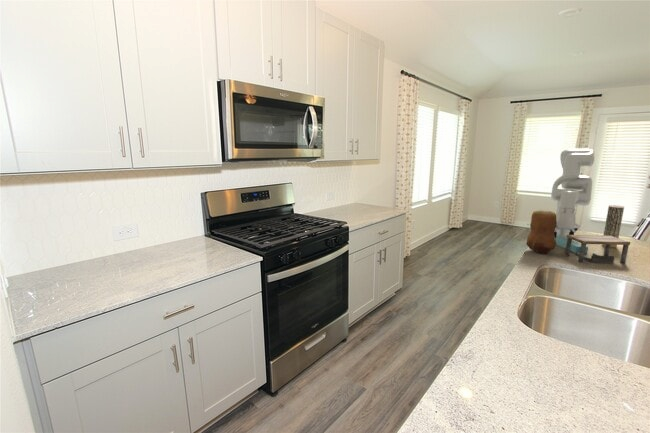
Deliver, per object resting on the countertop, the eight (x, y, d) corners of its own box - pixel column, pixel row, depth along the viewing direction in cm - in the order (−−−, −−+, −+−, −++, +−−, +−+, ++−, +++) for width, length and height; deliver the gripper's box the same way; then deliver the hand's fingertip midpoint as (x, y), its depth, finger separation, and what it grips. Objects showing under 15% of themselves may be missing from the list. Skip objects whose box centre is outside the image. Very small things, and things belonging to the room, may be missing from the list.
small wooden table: (564, 254, 175) (567, 234, 172) (606, 255, 172) (610, 235, 170) (580, 262, 162) (583, 241, 160) (626, 263, 160) (630, 242, 157)
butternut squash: (545, 249, 184) (551, 207, 179) (559, 256, 171) (566, 212, 166) (520, 248, 186) (525, 207, 181) (533, 255, 173) (539, 211, 168)
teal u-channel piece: (552, 242, 198) (553, 236, 197) (562, 242, 197) (563, 236, 197) (575, 253, 177) (576, 246, 176) (587, 253, 176) (588, 246, 175)
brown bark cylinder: (619, 248, 186) (627, 206, 181) (608, 248, 186) (615, 206, 181) (609, 244, 192) (617, 205, 188) (598, 244, 193) (605, 205, 188)
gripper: (577, 210, 192) (573, 237, 195) (547, 209, 194) (543, 236, 197) (586, 212, 185) (581, 240, 188) (555, 211, 187) (551, 239, 189)
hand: (562, 238), depth 192 cm, fingers open, 9 cm apart
